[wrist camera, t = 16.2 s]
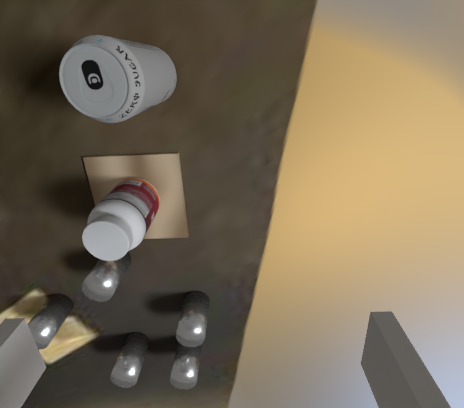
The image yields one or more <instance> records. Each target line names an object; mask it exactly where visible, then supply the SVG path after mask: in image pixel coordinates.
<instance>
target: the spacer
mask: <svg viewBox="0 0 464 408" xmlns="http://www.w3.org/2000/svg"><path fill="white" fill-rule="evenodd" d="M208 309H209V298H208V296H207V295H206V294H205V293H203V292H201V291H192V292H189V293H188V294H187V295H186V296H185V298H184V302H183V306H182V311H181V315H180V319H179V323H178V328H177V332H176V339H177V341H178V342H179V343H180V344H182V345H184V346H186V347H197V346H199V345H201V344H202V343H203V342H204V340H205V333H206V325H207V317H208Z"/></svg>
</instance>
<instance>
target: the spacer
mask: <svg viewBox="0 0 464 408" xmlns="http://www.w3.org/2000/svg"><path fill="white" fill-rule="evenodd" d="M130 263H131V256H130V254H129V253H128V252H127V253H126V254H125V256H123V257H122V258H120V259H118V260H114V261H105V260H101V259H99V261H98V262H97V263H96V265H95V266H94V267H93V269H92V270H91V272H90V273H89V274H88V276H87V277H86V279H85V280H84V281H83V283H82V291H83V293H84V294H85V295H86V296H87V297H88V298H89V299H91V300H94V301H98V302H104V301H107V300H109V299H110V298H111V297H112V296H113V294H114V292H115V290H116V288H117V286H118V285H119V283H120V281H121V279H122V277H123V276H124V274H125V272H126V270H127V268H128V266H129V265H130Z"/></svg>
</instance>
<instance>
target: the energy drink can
mask: <svg viewBox="0 0 464 408" xmlns="http://www.w3.org/2000/svg"><path fill="white" fill-rule="evenodd" d="M59 79H60V84H61V88H62V90H63V92H64V95H65V96H66V98H67V99H68V101H69V102H70V103H71V104H72V105H73V106H74V108H76V109H77V110H78V111H80V112H81V113H83V114H85V115H87V116H89V117H91V118H93V119H95V120H98V121H101V122H106V123H118V122H121V121H125V120H127V119H129V118H131V117H133V116H135V115H137V114H139V113H141V112H143V111H145V110H147V109H149V108H151V107H153V106H155V105H157V104H159V103H161V102H163V101H165V100H166V99H168V98H169V97H170V96H171V94H172V93H173V91H174V89H175V86H176V79H177V76H176V70H175V67H174V64H173V62H172V60H171V59H170V57H169V56H168V55H167V54H166V53H165V52H164V51H162V50H161V49H159V48H157V47H155V46H151V45H147V44H142V43H137V42H132V41H128V40H123V39H118V38H113V37H109V36H103V35H90V36H87V37H84V38H82V39H80V40H79V41H77V42H76V43H75V44H74V45H73V46H72V47H71V48H70V49H69V51H68V52H67V53H66V54H65V55H64V57H63V59H62V61H61V64H60V69H59Z"/></svg>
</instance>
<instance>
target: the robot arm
mask: <svg viewBox="0 0 464 408" xmlns="http://www.w3.org/2000/svg"><path fill="white" fill-rule="evenodd" d="M361 365H362V367H363V370H364V372H365V375H366V377H367V380H368V382H369V384H370V387H371V390H372V392H373V395H374V397H375V399H376V402H377V404H378V406H379V408H450V405H449V404H448V402H447V401H446V399H445V397H444V396H443V394H442V392H441V391H440V389H439V388H438V386H437V384H436V383H435V381H434V379H433V378H432V376H431V375H430V373H429V371H428V370H427V368H426V366H425V365H424V363H423V362H422V360H421V358H420V357H419V355H418V353H417V352H416V350H415V348H414V347H413V345H412V344H411V342H410V340H409V339H408V338H407V336H406V334H405V332H404V331H403V329H402V327H401V326H400V324H399V322H398V321H397V319H396V318H395V316H394V314H393V313H392V312H371V313H370V318H369V324H368V329H367V334H366V340H365V345H364V350H363V356H362V361H361ZM45 369H46V365H45V363H44V361H43V359H42V356H41V354H40V352H39V350H38V347H37V345H36V343H35V340H34V338H33V336H32V334H31V331H30V329H29V327H28V324H27V322H26V320H25V318H18V319H5V320H4V321H3V322H2V323H1V324H0V408H21V406H22V405H23V403H24V401H25V400H26V398H27V397H28V395H29V394H30V392H31V391H32V389H33V387H34V386H35V384H36V383H37V381H38V380H39V378H40V376H41V375H42V373H43V372H44V370H45Z"/></svg>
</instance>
